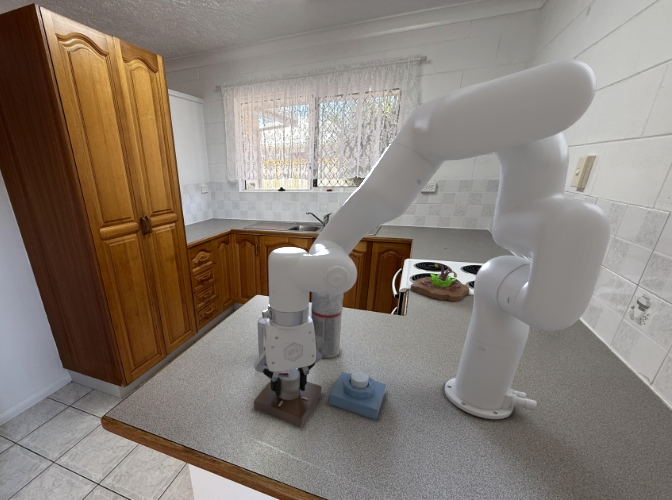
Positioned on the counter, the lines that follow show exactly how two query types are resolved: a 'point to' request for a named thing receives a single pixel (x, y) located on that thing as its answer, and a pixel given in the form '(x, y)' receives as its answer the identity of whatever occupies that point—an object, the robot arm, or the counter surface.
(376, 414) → the button base
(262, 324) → the beverage can
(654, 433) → the counter surface
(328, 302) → the spray can
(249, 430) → the counter surface
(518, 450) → the counter surface
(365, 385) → the white button cap
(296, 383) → the lock knob
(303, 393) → the base
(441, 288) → the plant
